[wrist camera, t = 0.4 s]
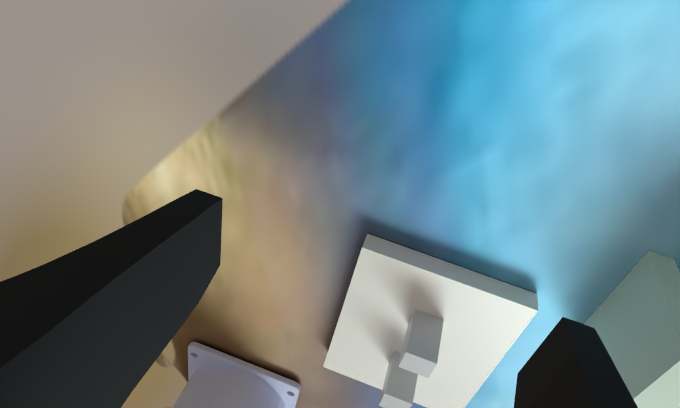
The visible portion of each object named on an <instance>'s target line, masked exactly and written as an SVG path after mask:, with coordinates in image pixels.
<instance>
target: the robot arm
mask: <svg viewBox="0 0 680 408" xmlns="http://www.w3.org/2000/svg"><path fill="white" fill-rule="evenodd" d="M221 226H222V198H220V197H217V196H215V195H212V194H209V193H206V192H203V191H200V190H197V189H196V190H194V191H192V192H190V193H188V194H186V195H184V196H182V197H180V198H178V199H176V200H174V201H172V202H170V203H168V204H166V205H165V206H163V207H161V208H159V209H157V210H155V211H153V212H151V213H149V214H148V215H146V216H144V217H142V218H140V219H138V220H136V221H134V222H132V223H130V224H128V225H126V226H124V227H122V228H120V229H118V230H116V231H114V232H112V233H110V234H108V235H106V236H104V237H102V238H100V239H98V240H96V241H95V242H92V243H90V244H88V245H86V246H84V247H81V248H79V249H77V250H75V251H73V252H71V253H68V254H66V255H64V256H62V257H59V258H57V259H55V260H53V261H51V262H49V263H46V264H44V265H42V266H39V267H37V268H35V269H32V270H30V271H27V272H25V273H22V274H20V275H17V276H15V277H12V278H9V279H7V280H4V281H1V282H0V408H121V407H122V405H123V403H124V402H125V401H126V399H127V398H128V397H129V395H130V394H131V392H132V391H133V389H134V388H135V387H136V385H137V384H138V383H139V381H140V380H141V379H142V377H143V376H144V375H145V373H146V372H147V371H148V369H149V368H150V367H151V365H152V364H153V363H154V361H155V360H156V359H157V358H158V356H159V355H160V354H161V352H162V351H163V350H164V348H165V347H166V346H167V344H168V343H169V342H170V340H171V339H172V338H173V336H174V335H175V334H176V332H177V331H178V330H179V328H180V327H181V326H182V324H183V323H184V322H185V320H186V319H187V318H188V316H189V315H190V314H191V312H192V311H193V309H194V308H195V307H196V305H197V304H198V302H199V301H200V299H201V297H202V296H203V294H204V292H205V290H206V289H207V287H208V285H209V284H210V282H211V280H212V278H213V276H214V275H215V273H216V271H217V269H218V267H219V266H220V255H221ZM300 389H301V386H300V385H299V384H298V383H297V382H295V381H293V380H291V379H288V378H285V377H283V376H280V375H278V374H275V373H273V372H270V371H268V370H265V369H263V368H260V367H258V366H255V365H253V364H250V363H248V362H245V361H243V360H240V359H238V358H235V357H233V356H230V355H228V354H225V353H223V352H220V351H218V350H215V349H213V348H210V347H208V346H205V345H202V344H200V343H197V342H191V343H190V345H189V346H188V383H187V385H186V386H185V388H184V390H183V391H182V393H181V394H180V396H179V398H178V399H177V401H176V402H175V404H174V406H173V407H172V408H295V407H296V403H297V399H298V396H299V392H300ZM514 408H638V407H637V405H636V403H635V401H634V399H633V397H632V396H631V394H630V392H629V390H628V388H627V386H626V385H625V383H624V381H623V379H622V377H621V375H620V374H619V372H618V370H617V368H616V366H615V364H614V362H613V360H612V359H611V357H610V355H609V353H608V351H607V349H606V348H605V346H604V344H603V342H602V340H601V338H600V337H599V335H598V333H597V331H596V330H595V328H593V327H590V326H587V325H584V324H581V323H579V322H576V321H573V320H570V319H567V318H564V317H562V319H561V320H560V321H559V322H558V324H557V325H556V326H555V328H554V329H553V330H552V331H551V333H550V334H549V335H548V336H547V338H546V339H545V340H544V341H543V343H542V344H541V345H540V346H539V348H538V349H537V350H536V351H535V353H534V354H533V355H532V356H531V358H530V359H529V360H528V361H527V363H526V364H525V365H524V366H523V368H522V369H521V370H520V371H519V373H518V377H517V385H516V394H515V402H514Z"/></svg>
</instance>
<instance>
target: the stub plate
mask: <svg viewBox="0 0 680 408" xmlns="http://www.w3.org/2000/svg"><path fill="white" fill-rule="evenodd" d="M537 312H538V299H537V294H536V293H533V292H530V291H527V290H525V289H522V288H519V287H516V286H513V285H511V284H508V283H505V282H502V281H499V280H497V279H494V278H491V277H488V276H485V275H482V274H480V273H477V272H474V271H471V270H468V269H466V268H463V267H460V266H457V265H454V264H452V263H449V262H446V261H443V260H440V259H438V258H435V257H432V256H429V255H426V254H424V253H421V252H418V251H415V250H412V249H410V248H407V247H404V246H401V245H398V244H396V243H393V242H390V241H387V240H384V239H381V238H379V237H376V236H373V235H370V234H367V236H366V238H365V241H364V244H363V246H362V249H361V252H360V255H359V258H358V261H357V264H356V267H355V271H354V274H353V277H352V280H351V283H350V286H349V289H348V292H347V295H346V298H345V301H344V304H343V307H342V311H341V314H340V317H339V320H338V323H337V326H336V329H335V332H334V335H333V338H332V341H331V344H330V348H329V351H328V354H327V357H326V360H325V363H324V366H323V367H325V368H328V369H330V370H333V371H335V372H338V373H340V374H343V375H345V376H348V377H351V378H353V379H356V380H358V381H361V382H363V383H366V384H368V385H371V386H374V387H376V388H379V389H381V390H382V394H381V398H380V402H379V406H381V407H384V408H411V406H412V404H413V402H414V403H417V404H419V405H422V406H425V407H427V408H465V406H466V405H467V404H468V402H469V401H470V400H471V398H472V397H473V396H474V395H475V393H476V392H477V391H478V389H479V388H480V387H481V385H482V384H483V383H484V381H485V380H486V379H487V377H488V376H489V375H490V373H491V372H492V371H493V370H494V368H495V367H496V366H497V364H498V363H499V362H500V360H501V359H502V358H503V356H504V355H505V354H506V352H507V351H508V350H509V349H510V347H511V346H512V345H513V343H514V342H515V341H516V339H517V338H518V337H519V335H520V334H521V333H522V331H523V330H524V329H525V327H526V326H527V325H528V324H529V322H530V321H531V320H532V318H533V317H534V316H535V314H536V313H537Z"/></svg>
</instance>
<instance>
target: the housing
mask: <svg viewBox="0 0 680 408" xmlns="http://www.w3.org/2000/svg"><path fill="white" fill-rule="evenodd" d="M584 325H587V326H590V327H593V328H595V330H596V331H597V333H598V335H599V337H600V338H601V340H602V342H603V344H604V346H605V348H606V349H607V351H608V353H609V355H610V357H611V359H612V360H613V362H614V364H615V366H616V368H617V370H618V372H619V374H620V375H621V377H622V379H623V381H624V383H625V385H626V386H627V388H628V390H629V392H630V394H631V396H632V397H633V399H634V401H635V403H636V405H637V407H638V408H680V271H679V269H678V266H677V264H676V261H675V259H672V258H669V257H666V256H663V255H661V254H658V253H655V252H652V251H649V250H648V252H647V253H646V254H645V255H644V256H643V257H642V258H641V259H640V261H639V262H638V263H637V264H636V265H635V266H634V267H633V268H632V270H631V271H630V272H629V273H628V274H627V275H626V276H625V277H624V279H623V280H622V281H621V282H620V283H619V284H618V285H617V287H616V288H615V289H614V290H613V291H612V292H611V293H610V294H609V296H608V297H607V298H606V299H605V300H604V301H603V302H602V303H601V305H600V306H599V307H598V308H597V309H596V310H595V311H594V312H593V314H592V315H591V316H590V317H589V318H588V319H587V320H586V321H585V323H584Z"/></svg>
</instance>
